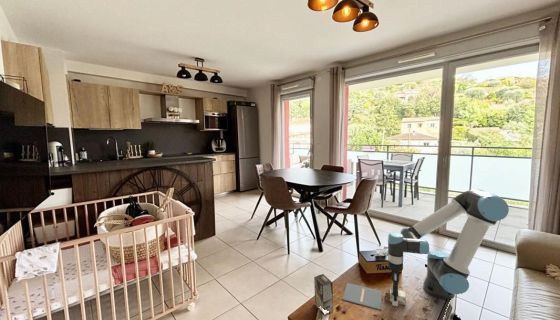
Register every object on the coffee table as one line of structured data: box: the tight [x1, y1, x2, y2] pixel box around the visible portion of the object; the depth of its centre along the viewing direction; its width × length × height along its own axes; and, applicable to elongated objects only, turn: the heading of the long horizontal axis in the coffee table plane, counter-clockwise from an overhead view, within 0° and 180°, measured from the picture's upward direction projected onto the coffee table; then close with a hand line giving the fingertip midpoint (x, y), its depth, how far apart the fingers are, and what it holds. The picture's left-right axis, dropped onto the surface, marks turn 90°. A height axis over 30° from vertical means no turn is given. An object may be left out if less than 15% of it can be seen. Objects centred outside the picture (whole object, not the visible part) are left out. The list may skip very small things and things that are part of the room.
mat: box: [341, 282, 383, 311], centre depth 132 cm, size 20×16×1 cm
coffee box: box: [313, 273, 334, 313], centre depth 123 cm, size 9×6×16 cm
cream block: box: [384, 287, 407, 306], centre depth 128 cm, size 10×5×4 cm, turn 64°
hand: (394, 299), depth 128 cm, fingers open, 10 cm apart
